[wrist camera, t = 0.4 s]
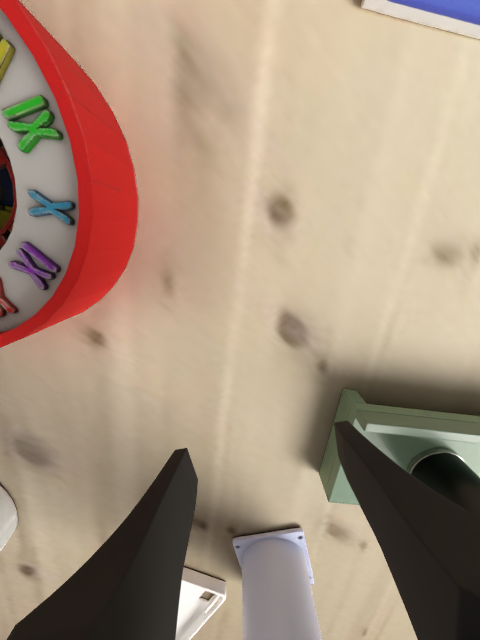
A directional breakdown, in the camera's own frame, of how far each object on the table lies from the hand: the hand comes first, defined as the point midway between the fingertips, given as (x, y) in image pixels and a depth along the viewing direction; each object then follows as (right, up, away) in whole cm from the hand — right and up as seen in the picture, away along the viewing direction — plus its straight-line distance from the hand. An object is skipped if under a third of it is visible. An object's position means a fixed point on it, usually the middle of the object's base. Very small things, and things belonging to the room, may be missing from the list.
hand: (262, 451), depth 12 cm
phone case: (-9, -30, +20) cm, 38 cm away
